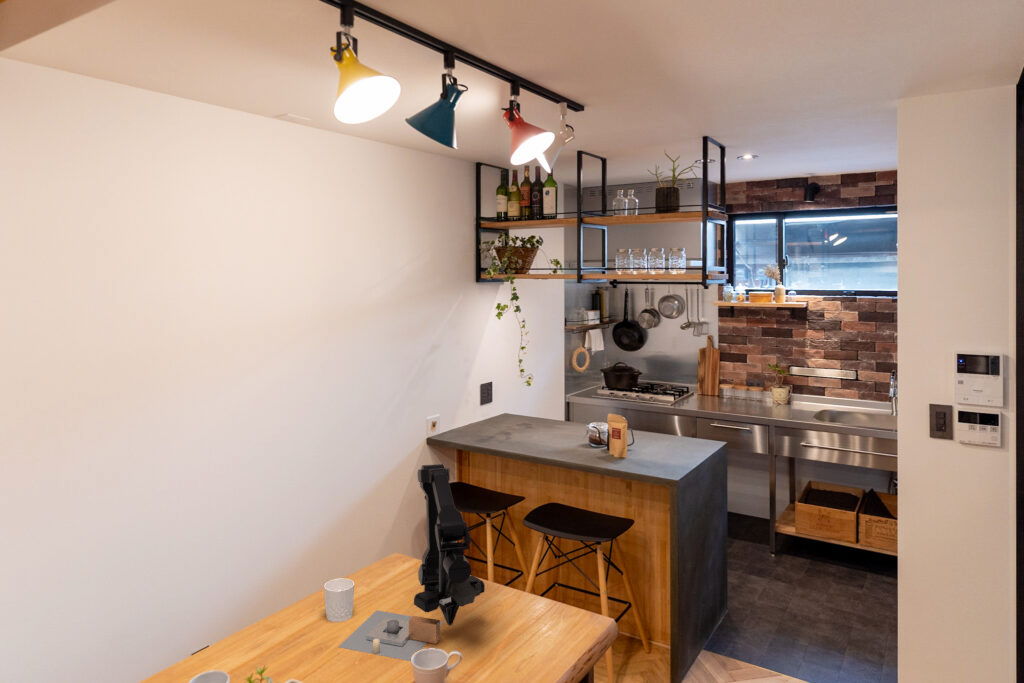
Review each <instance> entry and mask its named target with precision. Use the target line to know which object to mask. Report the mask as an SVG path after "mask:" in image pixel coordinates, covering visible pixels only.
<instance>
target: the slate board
mask: <svg viewBox="0 0 1024 683" xmlns="http://www.w3.org/2000/svg"><path fill="white" fill-rule="evenodd" d="M412 616H413V615H406V614H401V613H395V612H388V611H383V610H377V609H376V610H375V611H374V612H373V613H372V614H370V616H369V617H368V618H367V619H366V620H365V621H364V622H362V623H361V624H360V625H359V626H358V627H357V628H356V629H355V630H354V631H353V632H352V633H351V634H350V635H349V636H348V637H347V638H346V639H345V640H344V641H342V643H340V644H339V645H338V648H341V649H345V650H350V651H357V652H361V653H364V654H365V653H366V654H372V655H377V656H380V657H387V658H392V659H397V660H402V661H408V662H411V657H412V655H413V654H414V653H415V652H417V651H419V650H421V649H424V648H425V647H426V645H427V644H428V642H423V641H418V640H412V639H408V640H407V641H406V643H405V644H404V645H403V646H397V645H392V644H387V643H381V642H380V639H374V640H373V641H371V640H366V635H367V634H368V633H369V632H370V631H371V630H372V629H373V628H374V627H375V626H376V625H377V624H378V623H379V622H380V621H381V620H382V619H383V618H384V617H385V618H391V619H397V620H402V621H408V622H409V619H410V618H411V617H412ZM397 620H390V621H388V622H387V631H386V632H385V633H390V634H396V635H397V634H398V633H399V631H400V630H399V621H397ZM444 622H445V621H441V620H440V627H442V625H443V624H444ZM421 651H422V650H421Z"/></svg>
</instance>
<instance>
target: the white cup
mask: <svg viewBox="0 0 1024 683" xmlns="http://www.w3.org/2000/svg"><path fill="white" fill-rule="evenodd" d="M323 590H324V605H325V606H324V607H325V614H326V615H325V616H326V619H327V620H328V622H333V623H343V622H346V621H348V620H350V619H351V618H352V617H353V609H354V599H355V598H354V597H355V596H354V595H355V581H354V580H352V579H350V578H345V577H344V578H343V577H341V578H334V579H333V578H332V579H331V580H327V582H325V583H324V586H323Z"/></svg>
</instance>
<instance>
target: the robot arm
mask: <svg viewBox="0 0 1024 683" xmlns="http://www.w3.org/2000/svg"><path fill="white" fill-rule="evenodd" d="M450 471H451V470H450V467H445V465H444V463H439V464H424V465H421V468H420V469H418V470H417V480H418V481H417V482H418V483H419V485H420V486H419V487H420V489H421V490H422V491H423V493H424V495H425V507H426V508H425V509H426V514H425V515H426V541H427V542H426V545H427V547H426V549H425V551H424V553H423V555H422V557H421V564H420V565H419V568H418V573H417V574H418V575H417V576H418V577H417V578H418V581H419V584H420V586H422V587H423V586H424V587H423V591H421V592H418V593H416V594H415V595H414V597H413V605H414V606H416V607H417V608H419V610H421V611H423V612H424V613H430V612H434V611H436V610H438V608H440V611H441V613H442V615H443V618H444V620H445V622H446V624H447V626H449V627H450V626H452V625H453V624H454V621H455V619H456V615H457V613H458V611H459V608H460V607H465V606H466V605H468V604H473V603H474V602H475V599H476V597H479V596H480V595H481V594H483V593H485V591H486V588H485V587H486V586H485V582H484V581H483V580H481V579H480V578H478V577H476V576H474V575H471V574H472V568H471V564H470V563H469V561H468V560H467V558H466V557H465V553H464V552H465V551H466V550H470V544H471V543H472V541H471V540H472V539H471V536H470V531H469V526H468V525H467V522H466V521H465V520H464V518H463V514H462V512H460V511H459V510H458V509H457V508H456V505H455V503H454V497H453V495H452V489H451V486H450V482H449V481H451V474H450ZM463 540H464V541H463ZM459 541H460V542H459Z"/></svg>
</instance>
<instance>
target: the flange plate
mask: <svg viewBox="0 0 1024 683" xmlns="http://www.w3.org/2000/svg"><path fill="white" fill-rule="evenodd" d="M411 616H412V617H411V618H410V619H409V622H408V621H402V620H397V619H391V618H385V617H384V618H383V619H382V620H381V621H380V622H379V623H378V624H377V625H376V626H375V627H374V628H373V629H372V630H371V631H370V632H369V633H368V634H367V635H366V640H371V641H373V640H374V639H380V642H381V643H387V644H392V645H397V646H403V645H404V644H405V643H406V641H407V640H408V639H412V640H418V641H423V642H427V643H429V644H435V645H436V644H437V643H438V642H439V641H440V639H441V626H440V621H441V620H439V619H436V618H435V619H434V618H428V617H424V616H418V615H411ZM390 620H397V621H399V630H400V631H399V633H398V634H397V635H396V634H390V633H385V632H386V631H387V622H388V621H390Z"/></svg>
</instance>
